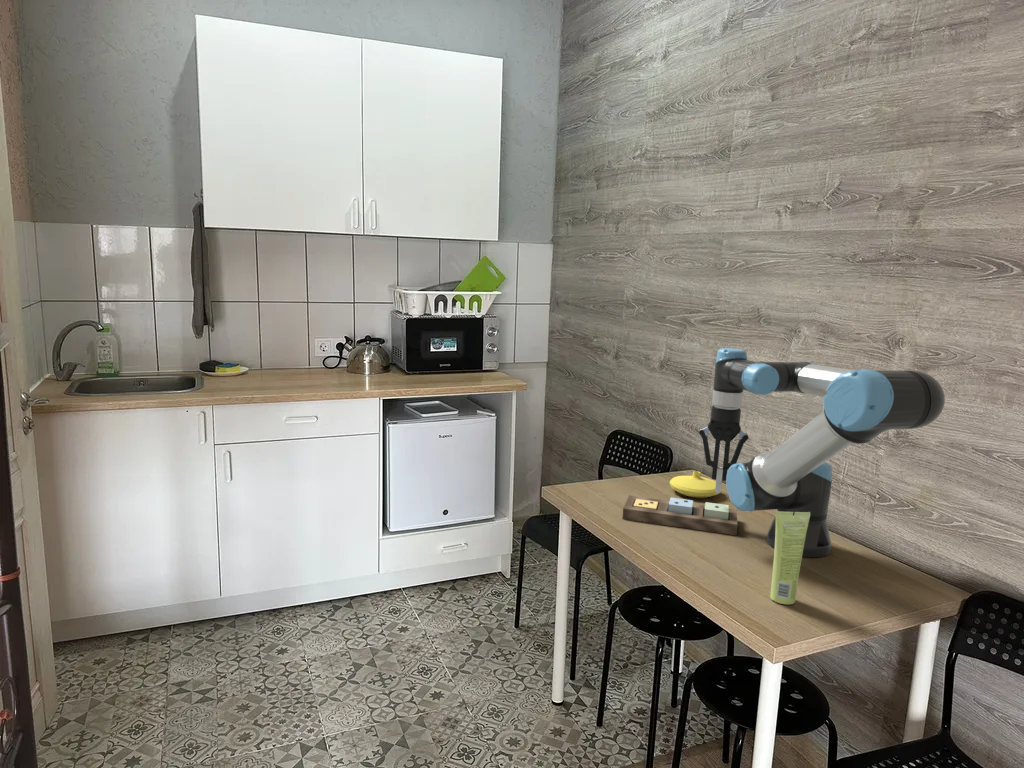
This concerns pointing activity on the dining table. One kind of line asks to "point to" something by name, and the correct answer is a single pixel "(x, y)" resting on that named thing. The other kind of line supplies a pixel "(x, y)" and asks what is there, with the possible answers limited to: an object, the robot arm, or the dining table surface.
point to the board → (680, 517)
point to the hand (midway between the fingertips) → (717, 491)
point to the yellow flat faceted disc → (694, 485)
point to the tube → (788, 555)
